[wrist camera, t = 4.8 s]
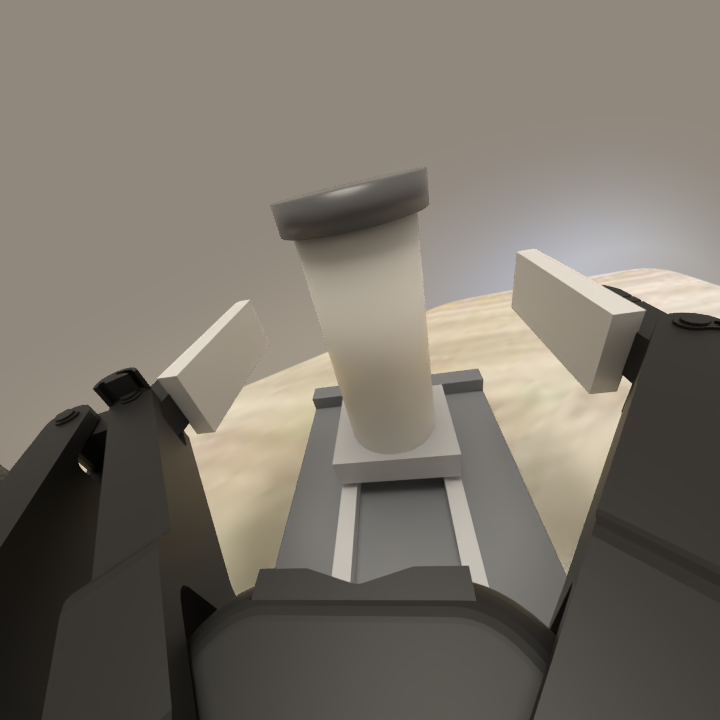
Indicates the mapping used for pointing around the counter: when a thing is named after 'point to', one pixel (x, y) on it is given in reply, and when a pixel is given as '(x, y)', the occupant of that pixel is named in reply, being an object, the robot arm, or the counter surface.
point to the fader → (375, 324)
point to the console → (425, 510)
